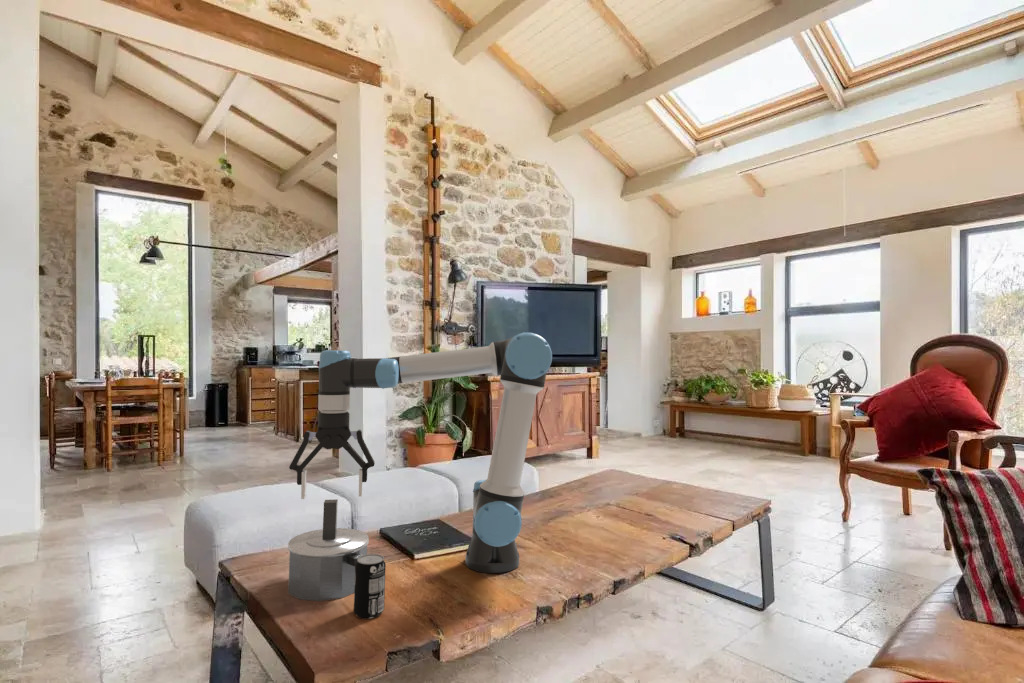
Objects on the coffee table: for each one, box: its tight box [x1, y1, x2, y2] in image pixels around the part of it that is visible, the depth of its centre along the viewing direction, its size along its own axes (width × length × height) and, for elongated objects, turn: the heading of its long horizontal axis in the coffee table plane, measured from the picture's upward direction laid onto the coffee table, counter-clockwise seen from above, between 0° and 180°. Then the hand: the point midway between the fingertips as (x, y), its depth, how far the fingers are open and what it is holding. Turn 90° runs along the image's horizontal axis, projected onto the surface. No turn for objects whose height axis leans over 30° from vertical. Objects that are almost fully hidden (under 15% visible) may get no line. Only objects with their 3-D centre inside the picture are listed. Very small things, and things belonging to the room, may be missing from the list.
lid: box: [287, 499, 370, 558], centre depth 135 cm, size 19×19×11 cm
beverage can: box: [353, 553, 386, 620], centre depth 121 cm, size 7×7×12 cm
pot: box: [287, 545, 368, 602], centre depth 135 cm, size 24×18×10 cm
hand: (332, 496), depth 136 cm, fingers open, 13 cm apart
